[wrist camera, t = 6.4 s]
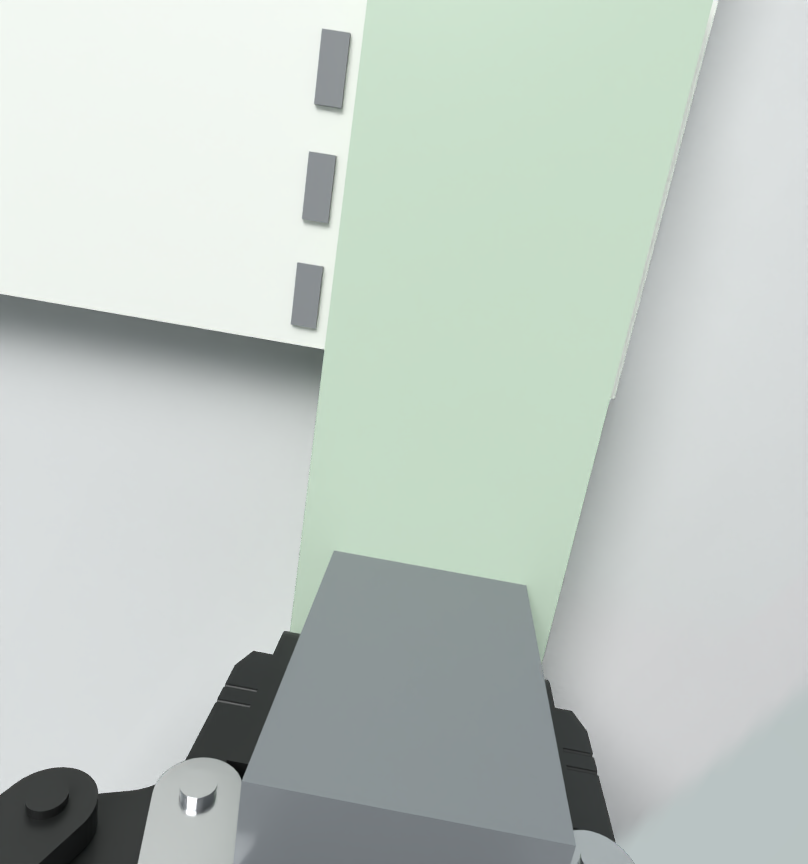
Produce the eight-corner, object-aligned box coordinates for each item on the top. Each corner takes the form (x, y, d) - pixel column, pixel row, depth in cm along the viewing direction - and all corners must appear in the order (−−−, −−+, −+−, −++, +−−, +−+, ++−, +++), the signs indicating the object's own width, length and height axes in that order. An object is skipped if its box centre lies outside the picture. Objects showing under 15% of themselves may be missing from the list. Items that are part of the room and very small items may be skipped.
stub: (381, -64, 11) (273, -477, 5) (706, -16, 11) (1058, -373, 4) (283, 721, 16) (163, 1049, 9) (508, 764, 15) (542, 1127, 9)
